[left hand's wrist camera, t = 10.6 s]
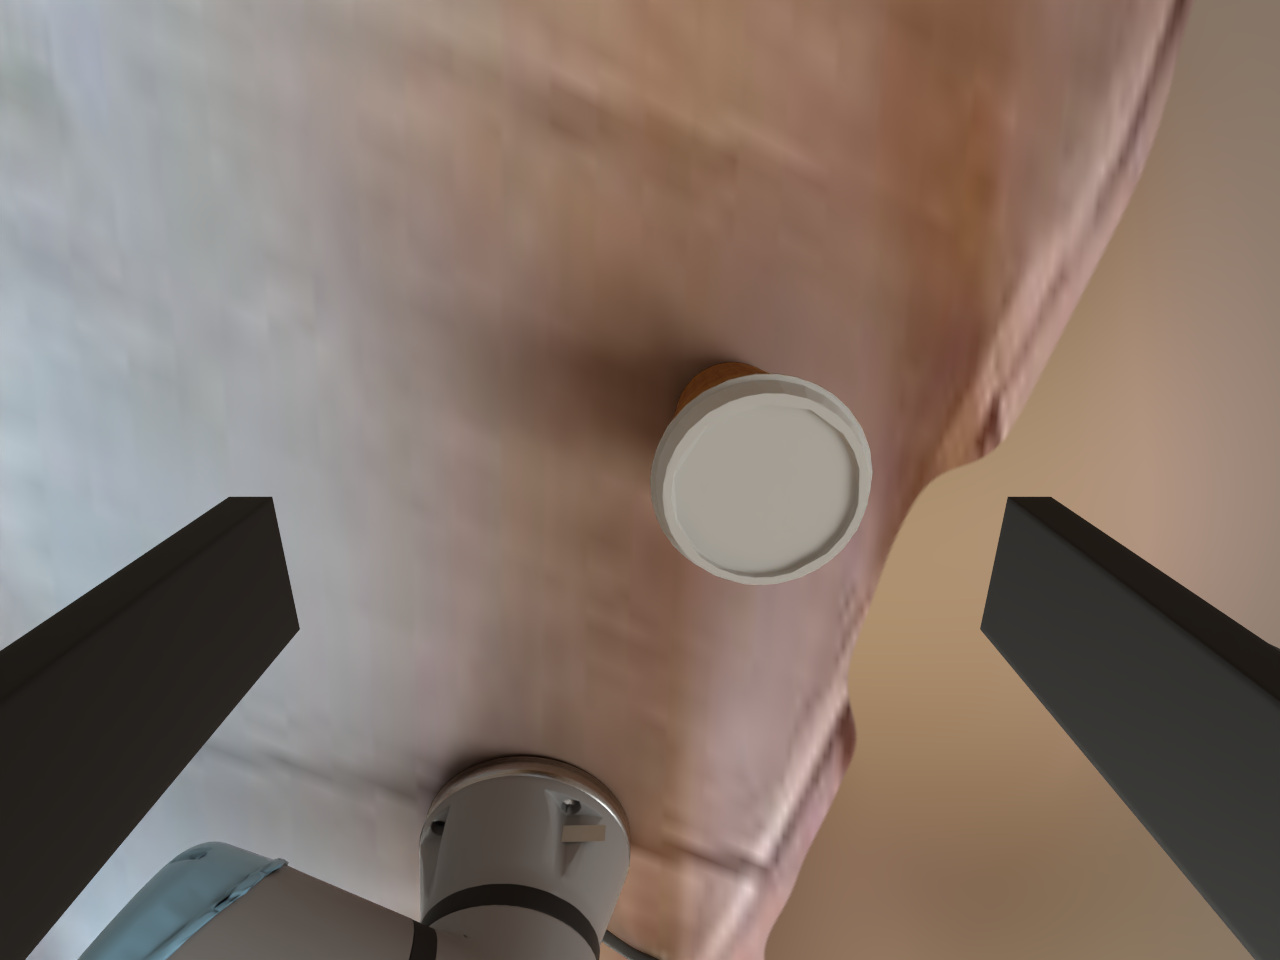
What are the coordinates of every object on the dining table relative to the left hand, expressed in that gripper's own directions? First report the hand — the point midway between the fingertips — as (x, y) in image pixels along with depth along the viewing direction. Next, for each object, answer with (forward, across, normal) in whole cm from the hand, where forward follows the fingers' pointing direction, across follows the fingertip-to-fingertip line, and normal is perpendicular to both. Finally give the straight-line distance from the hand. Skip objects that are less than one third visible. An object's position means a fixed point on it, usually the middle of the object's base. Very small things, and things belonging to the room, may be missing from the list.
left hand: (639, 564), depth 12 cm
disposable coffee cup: (+27, -5, +5) cm, 28 cm away
